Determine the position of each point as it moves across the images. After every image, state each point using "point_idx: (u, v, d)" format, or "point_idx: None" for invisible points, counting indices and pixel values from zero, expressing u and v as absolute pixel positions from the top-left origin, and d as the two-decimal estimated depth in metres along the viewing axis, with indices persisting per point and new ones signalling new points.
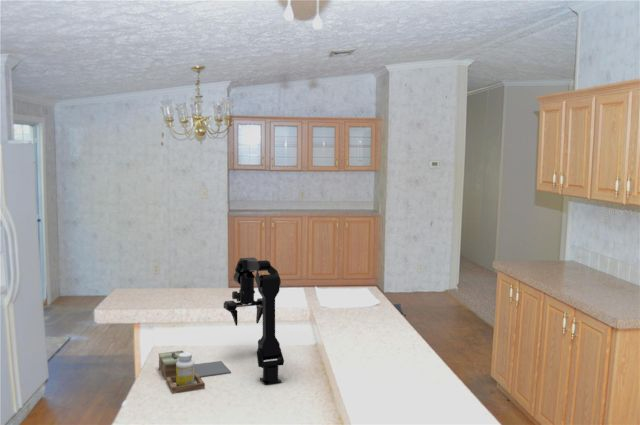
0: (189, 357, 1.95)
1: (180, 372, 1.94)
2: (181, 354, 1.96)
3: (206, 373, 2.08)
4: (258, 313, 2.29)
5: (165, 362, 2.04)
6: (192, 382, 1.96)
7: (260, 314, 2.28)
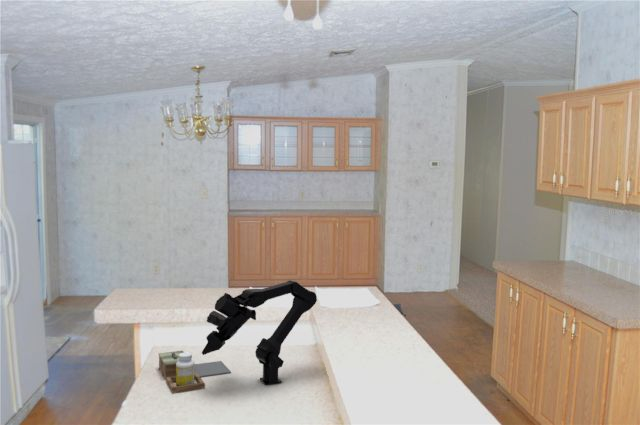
0: (189, 357, 1.95)
1: (180, 372, 1.94)
2: (181, 354, 1.96)
3: (206, 373, 2.08)
4: None
5: (165, 362, 2.04)
6: (192, 382, 1.96)
7: None
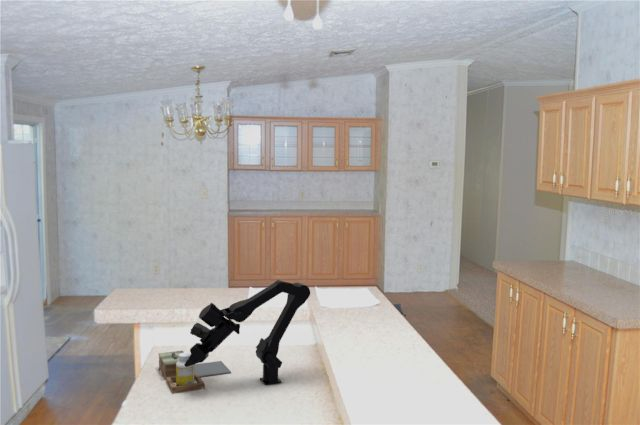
0: None
1: (180, 372, 1.94)
2: (181, 354, 1.96)
3: (206, 373, 2.08)
4: None
5: (165, 362, 2.04)
6: (192, 382, 1.96)
7: None
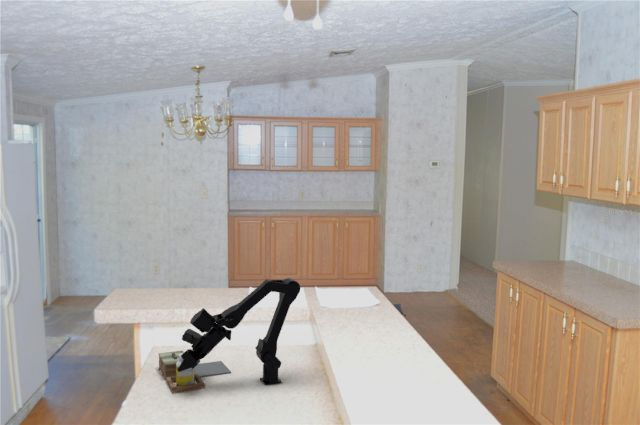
0: None
1: (180, 372, 1.94)
2: (181, 354, 1.96)
3: (206, 373, 2.08)
4: None
5: (165, 362, 2.04)
6: (192, 382, 1.96)
7: None
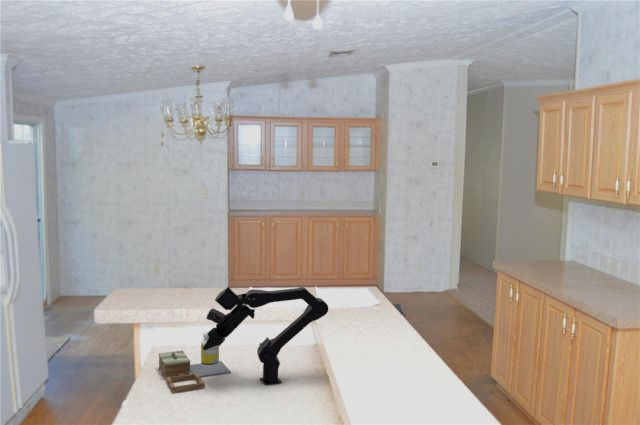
0: None
1: (205, 351, 1.98)
2: (206, 333, 2.00)
3: (206, 373, 2.08)
4: None
5: (165, 362, 2.04)
6: (217, 360, 2.00)
7: None
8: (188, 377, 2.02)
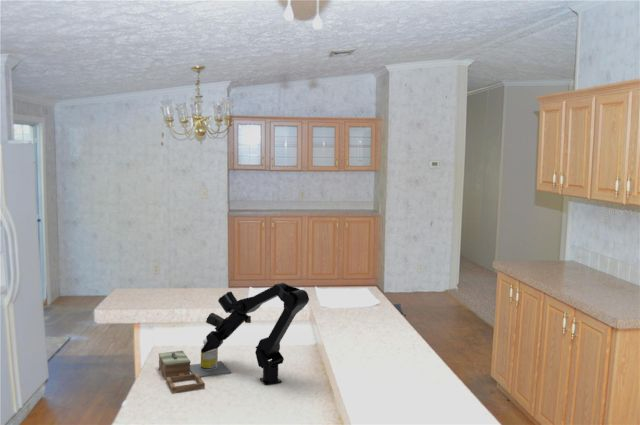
0: None
1: (205, 356, 2.10)
2: (205, 339, 2.13)
3: (206, 373, 2.08)
4: None
5: (165, 362, 2.04)
6: (216, 365, 2.13)
7: None
8: (188, 377, 2.02)
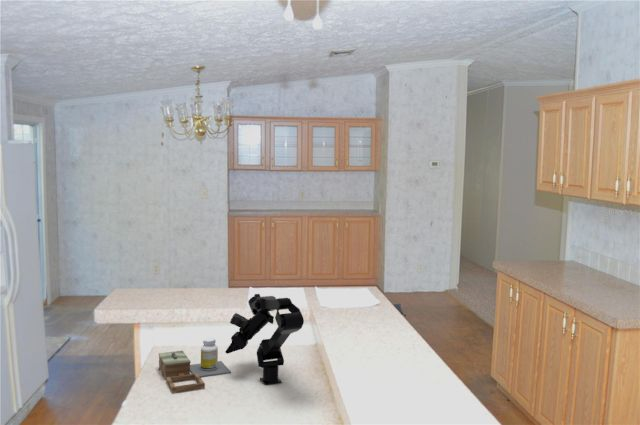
0: (213, 342, 2.12)
1: (205, 356, 2.10)
2: (205, 339, 2.13)
3: (206, 373, 2.08)
4: None
5: (165, 362, 2.04)
6: (216, 365, 2.13)
7: None
8: (188, 377, 2.02)
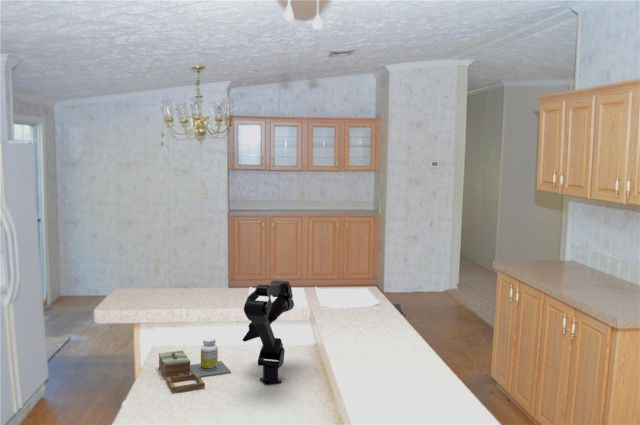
0: (213, 342, 2.12)
1: (205, 356, 2.10)
2: (205, 339, 2.13)
3: (206, 373, 2.08)
4: None
5: (165, 362, 2.04)
6: (216, 365, 2.13)
7: None
8: (188, 377, 2.02)
